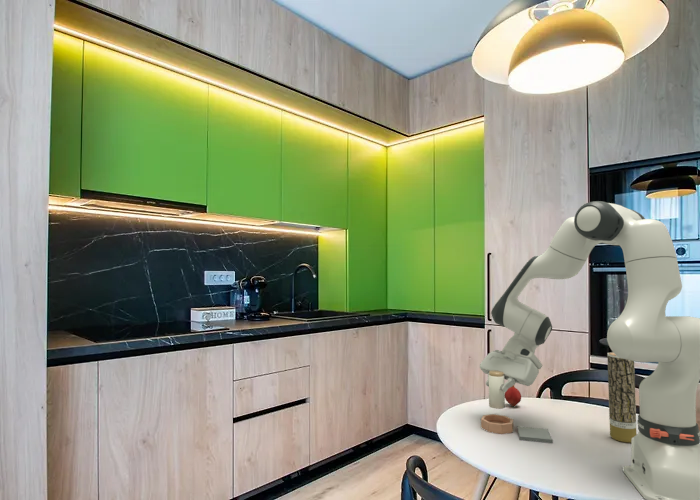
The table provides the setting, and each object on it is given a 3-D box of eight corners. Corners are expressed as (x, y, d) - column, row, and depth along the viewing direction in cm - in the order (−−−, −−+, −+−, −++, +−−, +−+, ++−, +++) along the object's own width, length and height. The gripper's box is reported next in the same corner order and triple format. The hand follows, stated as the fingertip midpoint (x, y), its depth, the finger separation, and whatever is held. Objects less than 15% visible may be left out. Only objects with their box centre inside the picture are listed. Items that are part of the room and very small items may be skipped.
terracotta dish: (511, 435, 133) (511, 426, 133) (479, 430, 137) (479, 421, 137) (514, 425, 142) (514, 417, 142) (484, 421, 146) (484, 412, 146)
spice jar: (503, 409, 137) (503, 374, 137) (487, 407, 139) (487, 372, 139) (505, 405, 141) (505, 371, 142) (490, 403, 143) (489, 369, 144)
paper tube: (641, 444, 126) (638, 357, 127) (615, 442, 127) (612, 356, 129) (631, 435, 133) (628, 352, 134) (606, 434, 134) (603, 352, 135)
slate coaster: (552, 443, 127) (552, 439, 127) (519, 439, 130) (519, 436, 130) (548, 432, 136) (547, 428, 136) (517, 429, 138) (517, 426, 138)
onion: (501, 405, 163) (501, 383, 164) (512, 403, 166) (512, 382, 166) (513, 409, 158) (512, 387, 158) (524, 407, 160) (524, 385, 161)
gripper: (488, 343, 153) (467, 374, 148) (536, 353, 135) (514, 389, 130) (498, 355, 155) (477, 386, 150) (547, 366, 137) (525, 402, 132)
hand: (495, 388), depth 140 cm, fingers closed on spice jar, 5 cm apart
